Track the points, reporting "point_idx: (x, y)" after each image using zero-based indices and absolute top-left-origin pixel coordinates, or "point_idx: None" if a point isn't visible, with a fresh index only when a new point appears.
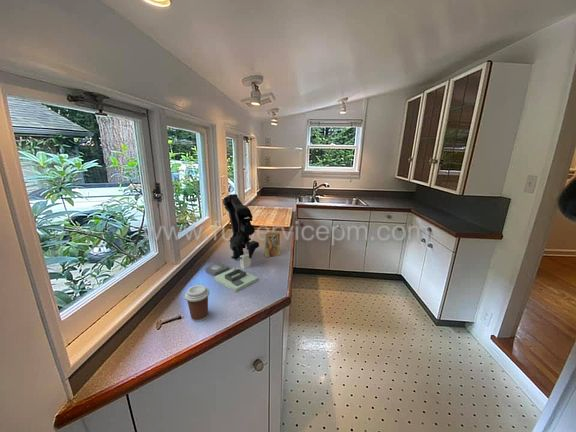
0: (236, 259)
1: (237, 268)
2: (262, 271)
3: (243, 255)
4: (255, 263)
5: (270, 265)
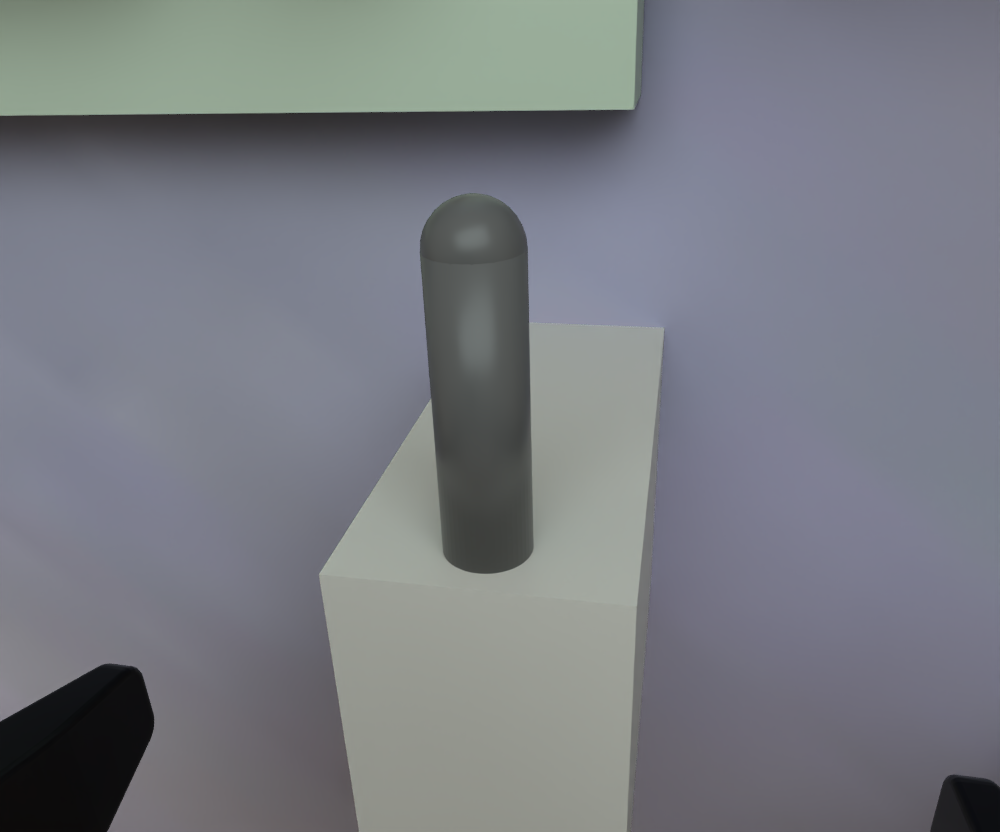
0: (504, 210)
1: (482, 74)
2: (18, 507)
3: (520, 730)
4: None
5: (171, 786)
